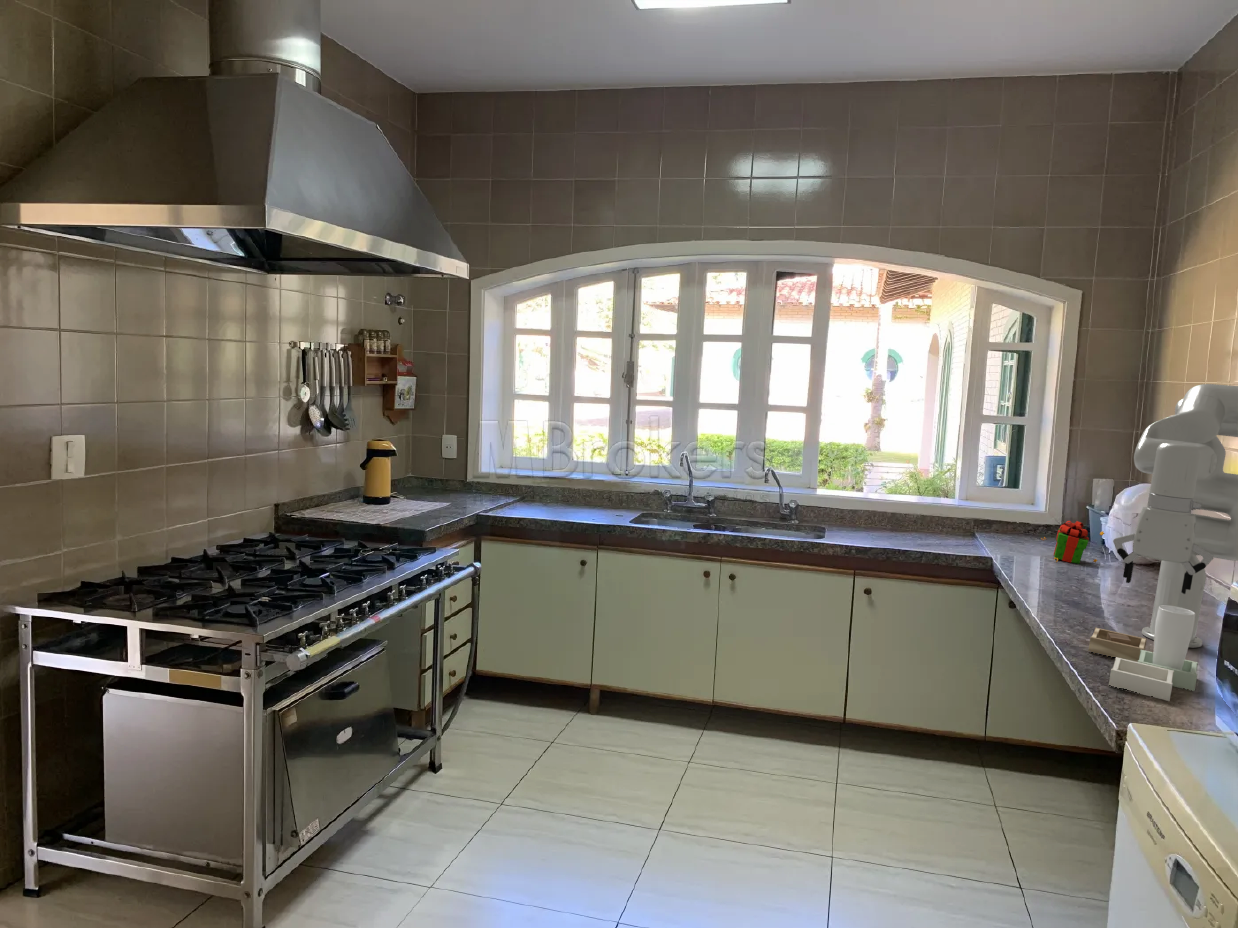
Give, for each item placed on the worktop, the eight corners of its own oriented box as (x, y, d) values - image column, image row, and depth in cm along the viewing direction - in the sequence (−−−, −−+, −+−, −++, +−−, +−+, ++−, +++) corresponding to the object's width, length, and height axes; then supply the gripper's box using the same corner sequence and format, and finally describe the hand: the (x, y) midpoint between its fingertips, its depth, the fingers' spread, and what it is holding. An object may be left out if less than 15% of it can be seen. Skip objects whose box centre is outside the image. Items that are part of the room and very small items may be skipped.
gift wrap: (1096, 574, 288) (1108, 534, 284) (1036, 559, 295) (1047, 519, 292) (1093, 560, 305) (1105, 522, 302) (1036, 545, 313) (1047, 508, 309)
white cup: (1187, 686, 179) (1199, 616, 177) (1150, 679, 181) (1161, 610, 179) (1179, 675, 185) (1191, 608, 183) (1143, 669, 188) (1155, 602, 186)
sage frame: (1138, 664, 190) (1140, 649, 190) (1195, 677, 185) (1197, 662, 184) (1134, 676, 182) (1137, 661, 182) (1194, 691, 176) (1197, 674, 176)
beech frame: (1092, 641, 205) (1095, 627, 205) (1144, 653, 199) (1146, 638, 199) (1088, 651, 197) (1090, 637, 196) (1141, 664, 191) (1144, 649, 190)
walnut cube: (1104, 648, 200) (1107, 632, 200) (1124, 652, 199) (1126, 635, 199) (1108, 654, 197) (1111, 637, 196) (1127, 657, 195) (1130, 640, 195)
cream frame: (1113, 672, 184) (1115, 656, 183) (1171, 686, 178) (1174, 670, 177) (1108, 685, 175) (1111, 669, 175) (1169, 701, 169) (1172, 684, 169)
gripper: (1221, 510, 170) (1206, 593, 173) (1122, 495, 180) (1109, 575, 182) (1221, 513, 164) (1206, 600, 166) (1118, 498, 174) (1105, 580, 176)
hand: (1155, 587), depth 174 cm, fingers open, 9 cm apart
